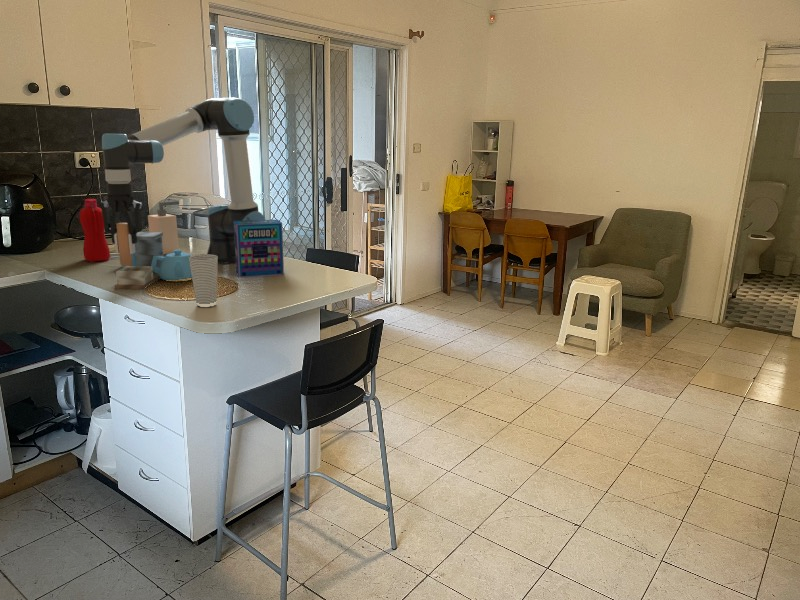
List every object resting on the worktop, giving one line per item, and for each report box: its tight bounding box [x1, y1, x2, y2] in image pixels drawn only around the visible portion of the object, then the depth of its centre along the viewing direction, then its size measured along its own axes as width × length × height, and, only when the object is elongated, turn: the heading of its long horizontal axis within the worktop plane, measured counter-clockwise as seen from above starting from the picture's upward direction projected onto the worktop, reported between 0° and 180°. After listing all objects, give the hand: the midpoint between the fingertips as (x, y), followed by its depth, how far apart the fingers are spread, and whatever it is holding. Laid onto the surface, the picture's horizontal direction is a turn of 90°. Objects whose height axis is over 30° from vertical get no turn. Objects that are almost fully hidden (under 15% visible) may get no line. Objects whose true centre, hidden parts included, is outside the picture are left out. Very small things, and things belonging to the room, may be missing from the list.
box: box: [234, 219, 285, 278], centre depth 226 cm, size 17×9×20 cm, turn 111°
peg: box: [116, 222, 133, 267], centre depth 199 cm, size 4×4×14 cm
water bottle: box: [78, 198, 111, 263], centre depth 242 cm, size 9×11×25 cm
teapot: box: [151, 249, 192, 281], centre depth 218 cm, size 15×15×11 cm
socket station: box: [114, 231, 164, 290], centre depth 211 cm, size 11×20×16 cm, turn 1°
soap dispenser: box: [147, 200, 180, 255], centre depth 263 cm, size 13×9×22 cm
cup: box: [189, 253, 219, 304], centre depth 184 cm, size 8×8×16 cm
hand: (125, 252), depth 200 cm, fingers closed on peg, 4 cm apart
